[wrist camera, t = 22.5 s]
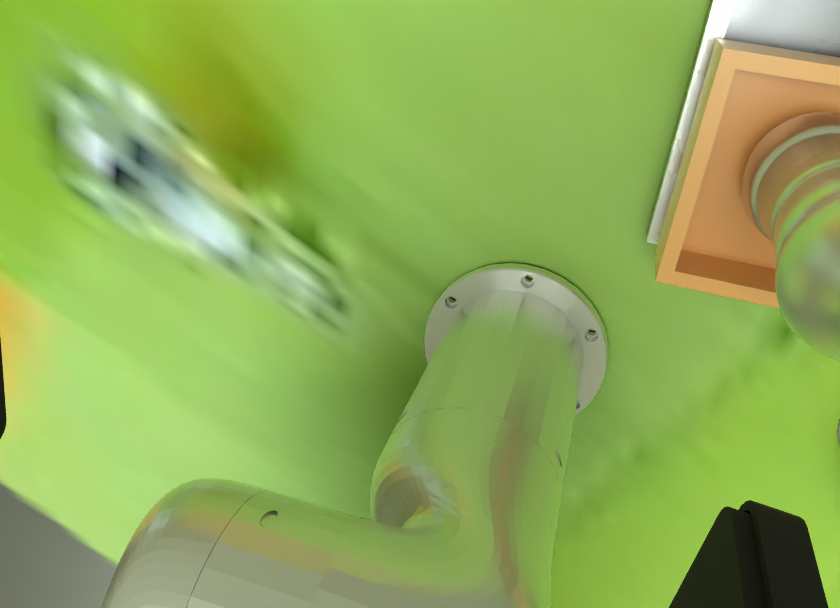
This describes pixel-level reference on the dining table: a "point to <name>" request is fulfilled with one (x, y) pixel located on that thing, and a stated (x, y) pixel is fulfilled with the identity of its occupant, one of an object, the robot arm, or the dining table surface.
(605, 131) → the dining table surface
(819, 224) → the plastic bottle
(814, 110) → the orange open tray
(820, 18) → the grey flat slab
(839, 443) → the grey mug
